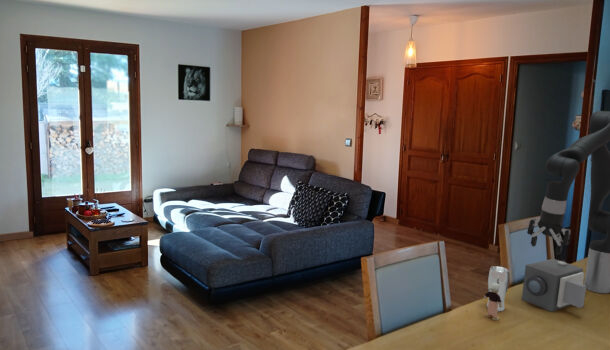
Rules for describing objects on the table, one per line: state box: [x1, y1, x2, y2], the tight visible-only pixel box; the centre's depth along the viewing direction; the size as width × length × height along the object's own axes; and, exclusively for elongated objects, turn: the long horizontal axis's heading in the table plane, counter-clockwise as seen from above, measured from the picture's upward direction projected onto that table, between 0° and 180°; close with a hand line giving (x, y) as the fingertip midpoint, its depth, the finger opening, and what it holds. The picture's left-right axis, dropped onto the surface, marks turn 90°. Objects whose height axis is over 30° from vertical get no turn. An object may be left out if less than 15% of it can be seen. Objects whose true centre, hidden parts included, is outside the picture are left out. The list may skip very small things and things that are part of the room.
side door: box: [557, 271, 587, 309], centre depth 167 cm, size 14×7×11 cm, turn 121°
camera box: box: [521, 258, 584, 313], centre depth 174 cm, size 21×12×15 cm, turn 121°
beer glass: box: [486, 265, 510, 312], centre depth 167 cm, size 7×7×15 cm
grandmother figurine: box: [483, 283, 502, 321], centre depth 160 cm, size 8×4×13 cm, turn 37°
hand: (545, 249), depth 171 cm, fingers open, 8 cm apart
